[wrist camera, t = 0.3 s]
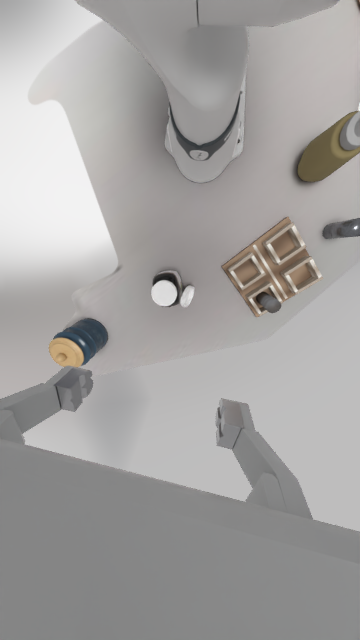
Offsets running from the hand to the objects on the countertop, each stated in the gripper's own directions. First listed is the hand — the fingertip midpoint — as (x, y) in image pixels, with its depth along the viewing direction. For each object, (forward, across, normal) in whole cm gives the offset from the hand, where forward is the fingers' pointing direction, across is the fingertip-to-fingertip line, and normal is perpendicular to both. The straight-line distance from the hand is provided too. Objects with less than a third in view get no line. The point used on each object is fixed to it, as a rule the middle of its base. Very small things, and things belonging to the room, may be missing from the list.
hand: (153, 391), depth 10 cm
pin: (+48, -33, -16) cm, 61 cm away
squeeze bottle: (+48, -22, -29) cm, 61 cm away
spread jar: (+47, +6, +5) cm, 48 cm away
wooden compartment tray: (+48, -21, -4) cm, 52 cm away
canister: (+46, +36, +28) cm, 64 cm away
